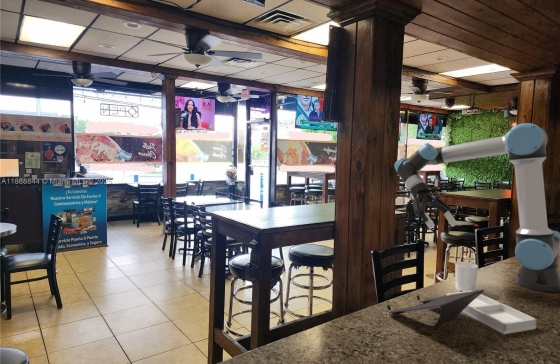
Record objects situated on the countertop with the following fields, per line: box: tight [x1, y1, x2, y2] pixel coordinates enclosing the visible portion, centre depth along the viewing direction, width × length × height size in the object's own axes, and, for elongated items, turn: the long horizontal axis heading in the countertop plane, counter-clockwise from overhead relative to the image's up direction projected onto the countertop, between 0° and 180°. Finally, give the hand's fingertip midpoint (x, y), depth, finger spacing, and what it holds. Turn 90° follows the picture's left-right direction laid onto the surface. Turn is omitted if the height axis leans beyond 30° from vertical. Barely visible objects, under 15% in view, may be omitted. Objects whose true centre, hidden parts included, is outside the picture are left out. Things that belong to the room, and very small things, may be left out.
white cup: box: [454, 261, 479, 292], centre depth 142 cm, size 8×8×10 cm
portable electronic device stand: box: [386, 289, 485, 329], centre depth 116 cm, size 23×23×9 cm
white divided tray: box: [443, 290, 538, 335], centre depth 120 cm, size 13×24×3 cm, turn 17°
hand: (443, 226), depth 152 cm, fingers open, 13 cm apart
